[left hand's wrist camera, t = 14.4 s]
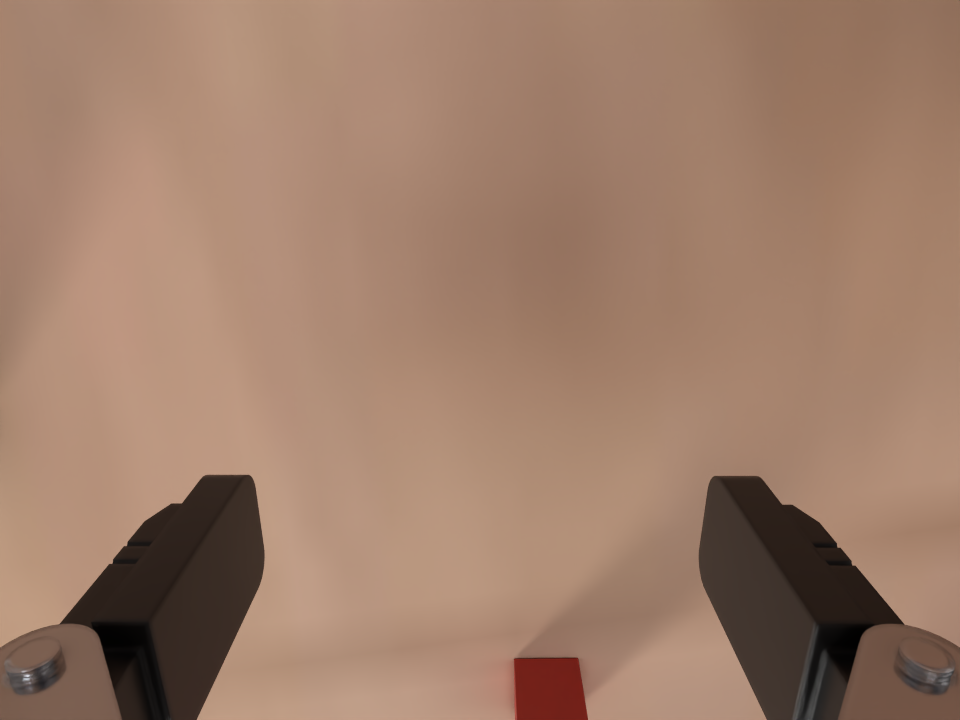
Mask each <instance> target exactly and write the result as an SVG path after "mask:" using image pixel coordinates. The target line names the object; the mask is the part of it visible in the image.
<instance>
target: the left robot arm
mask: <svg viewBox="0 0 960 720" xmlns="http://www.w3.org/2000/svg"><path fill="white" fill-rule="evenodd" d="M851 562H852V561H851V560H850V559H849V557H848V556H847V555H846V554H845V553H844V551H843V550H842V549H841V548H837V543H836V542H835V541H834V540H833V538H832V537H831V536H830V535H829V534H828V532H827V531H826V530H825V529H824V528H823V526H822V525H821V524H820V523H819V522H818V521H816V520H815V519H813V518H812V517H810V516H809V515H807V514H805V513H804V512H802V511H801V510H799V509H798V508H796V507H795V506H793V505H782V504H781V503H780V501H779V500H778V499H777V498H776V496H775V495H774V494H773V492H772V491H771V490H770V489H769V487H768V486H767V485H766V483H765V482H764V481H763V480H762V479H761V478H760V477H758V476H714V477H713V478H712V479H711V480H710V483H709V486H708V492H707V499H706V506H705V513H704V520H703V527H702V534H701V541H700V547H699V568H700V574H701V579H702V583H703V586H704V588H705V590H706V593H707V595H708V597H709V599H710V601H711V603H712V605H713V607H714V609H715V612H716V614H717V616H718V618H719V620H720V622H721V624H722V626H723V628H724V630H725V633H726V635H727V637H728V639H729V641H730V643H731V645H732V647H733V649H734V651H735V654H736V656H737V658H738V660H739V662H740V664H741V666H742V668H743V670H744V672H745V675H746V677H747V679H748V681H749V683H750V685H751V687H752V689H753V691H754V693H755V696H756V698H757V700H758V702H759V704H760V706H761V708H762V710H763V712H764V715H765V717H766V719H767V720H960V647H958V646H956V645H955V644H953V643H952V642H950V641H948V640H946V639H944V638H942V637H940V636H938V635H936V634H933V633H931V632H929V631H926V630H923V629H920V628H916V627H912V626H908V625H904V623H903V622H902V621H901V620H900V619H899V617H898V616H897V615H896V614H895V613H894V611H893V610H892V609H891V608H890V607H889V605H888V604H887V603H886V602H885V601H884V599H883V598H882V597H881V596H880V595H879V593H878V592H877V591H876V590H875V589H874V587H873V586H872V585H871V584H870V583H869V581H868V580H867V579H866V578H865V577H864V575H863V574H862V573H861V572H860V571H859V569H858V568H857V567H856V566H852V563H851ZM263 569H264V544H263V537H262V530H261V523H260V516H259V509H258V502H257V495H256V488H255V483H254V481H253V478H252V477H251V476H250V475H205V476H203V477H202V478H201V479H200V481H199V482H198V483H197V485H196V486H195V487H194V489H193V490H192V491H191V492H190V494H189V495H188V496H187V498H186V499H185V500H184V502H183V503H182V504H170V505H169V506H167V507H166V508H164V509H163V510H161V511H160V512H158V513H157V514H155V515H154V516H152V517H151V518H149V519H148V520H146V521H145V522H144V523H143V524H142V525H141V526H140V528H139V529H138V530H137V531H136V532H135V534H134V535H133V536H132V537H131V539H130V540H129V541H128V544H127V546H124V547H123V548H122V549H121V551H120V552H119V553H118V554H117V555H116V557H115V558H114V559H113V564H109V565H108V566H107V568H106V569H105V570H104V571H103V572H102V574H101V575H100V576H99V577H98V578H97V580H96V581H95V582H94V583H93V584H92V586H91V587H90V588H89V589H88V590H87V592H86V593H85V594H84V595H83V597H82V598H81V599H80V600H79V601H78V603H77V604H76V605H75V606H74V607H73V609H72V610H71V611H70V612H69V613H68V615H67V616H66V617H65V618H64V619H63V621H62V622H61V623H60V624H59V625H52V626H48V627H44V628H40V629H37V630H34V631H31V632H29V633H27V634H24V635H22V636H20V637H18V638H16V639H14V640H12V641H10V642H8V643H7V644H5V645H4V646H2V647H0V720H197V718H198V715H199V713H200V711H201V709H202V707H203V705H204V703H205V701H206V698H207V696H208V694H209V692H210V690H211V688H212V686H213V684H214V681H215V679H216V677H217V675H218V673H219V671H220V669H221V667H222V664H223V662H224V660H225V658H226V656H227V654H228V652H229V650H230V647H231V645H232V643H233V641H234V639H235V637H236V635H237V632H238V630H239V628H240V626H241V624H242V622H243V620H244V618H245V615H246V613H247V611H248V609H249V607H250V605H251V603H252V601H253V598H254V596H255V594H256V592H257V590H258V588H259V585H260V582H261V579H262V575H263Z"/></svg>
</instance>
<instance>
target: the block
mask: <svg viewBox="0 0 960 720" xmlns="http://www.w3.org/2000/svg"><path fill="white" fill-rule="evenodd" d="M514 688H515V720H588V716H587V710H586V704H585V698H584V692H583V685H582V679H581V673H580V667H579V661H578V658H554V659H514Z"/></svg>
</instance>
